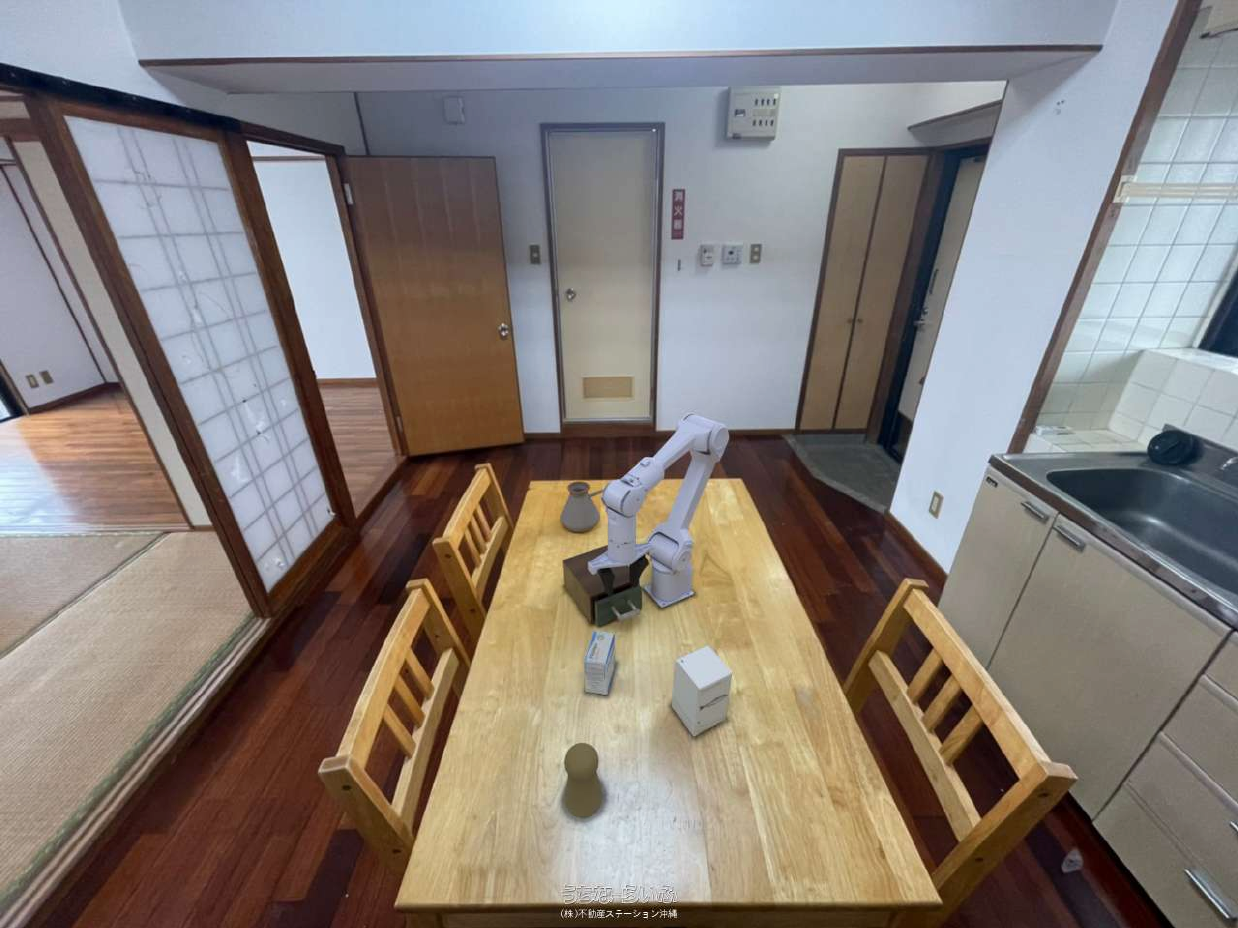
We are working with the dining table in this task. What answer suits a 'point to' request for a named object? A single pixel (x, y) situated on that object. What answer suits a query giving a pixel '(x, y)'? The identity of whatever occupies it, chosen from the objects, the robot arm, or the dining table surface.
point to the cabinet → (589, 580)
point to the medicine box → (599, 663)
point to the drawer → (618, 605)
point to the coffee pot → (580, 508)
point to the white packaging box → (701, 689)
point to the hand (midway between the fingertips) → (621, 588)
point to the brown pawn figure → (582, 781)
